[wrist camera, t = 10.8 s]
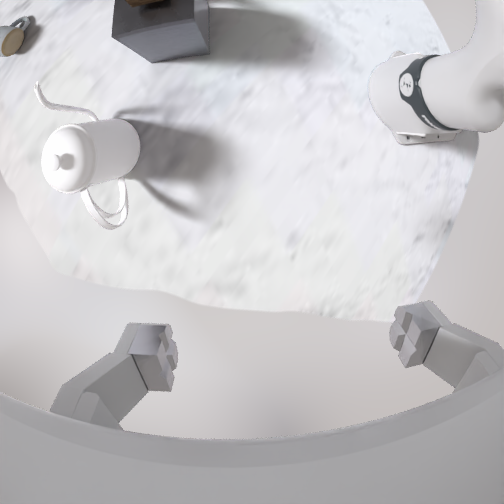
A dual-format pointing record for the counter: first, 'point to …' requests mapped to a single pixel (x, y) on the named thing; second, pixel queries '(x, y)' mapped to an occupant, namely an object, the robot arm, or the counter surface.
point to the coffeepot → (90, 157)
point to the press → (163, 28)
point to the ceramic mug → (12, 37)
